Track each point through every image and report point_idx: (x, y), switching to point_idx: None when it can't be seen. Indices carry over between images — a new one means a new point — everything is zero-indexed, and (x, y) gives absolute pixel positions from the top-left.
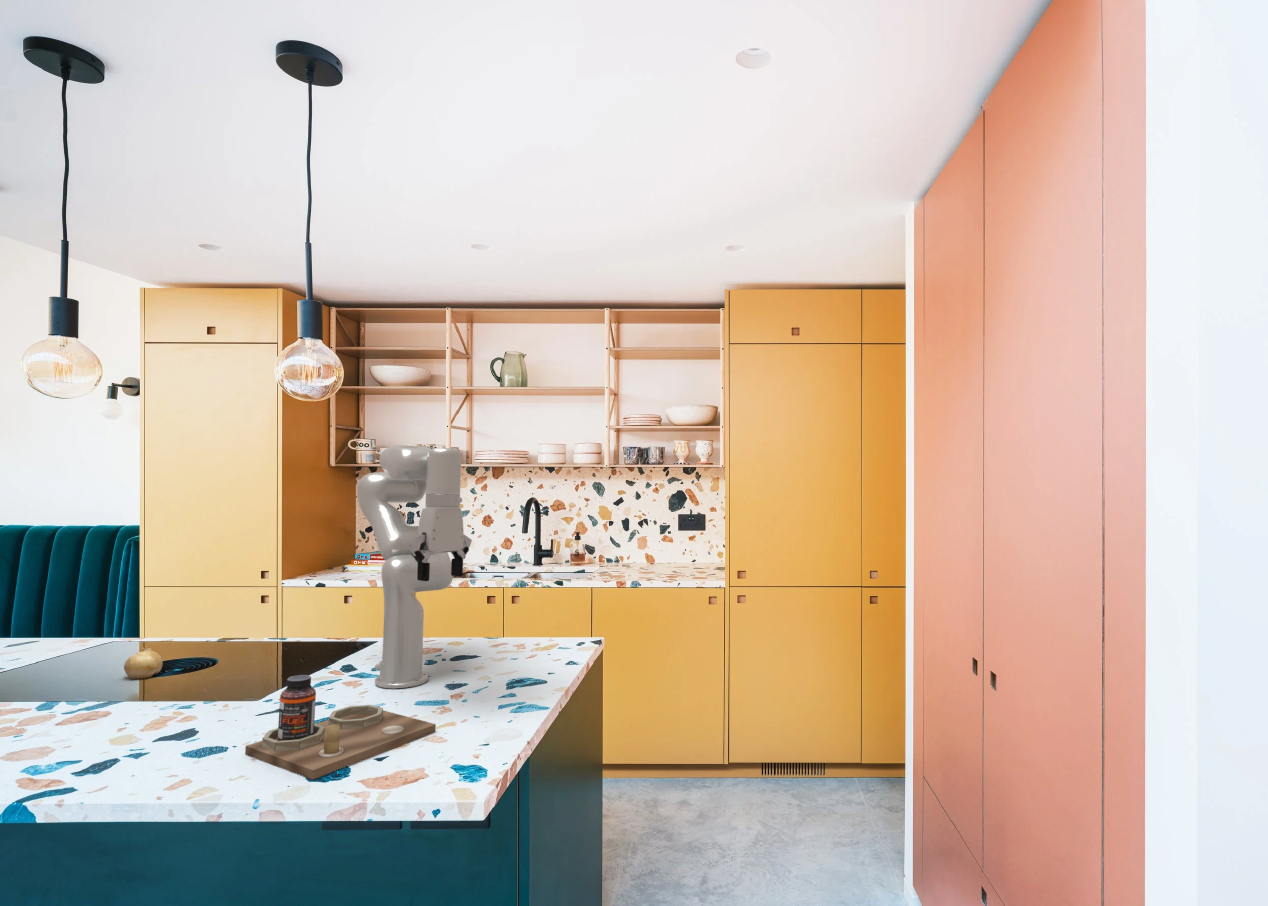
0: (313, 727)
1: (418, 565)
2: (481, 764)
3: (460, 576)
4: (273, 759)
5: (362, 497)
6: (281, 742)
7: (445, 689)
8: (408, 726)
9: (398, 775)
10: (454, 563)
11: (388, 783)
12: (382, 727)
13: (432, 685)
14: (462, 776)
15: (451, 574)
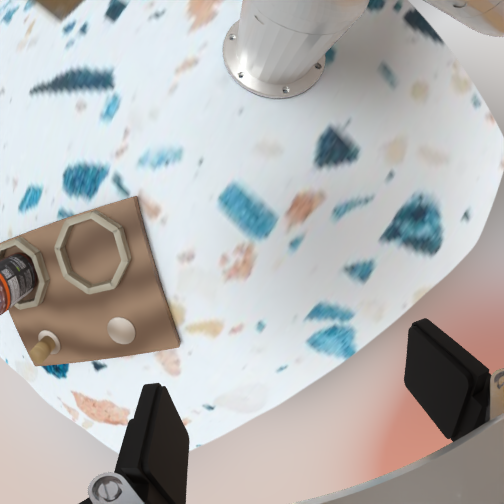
0: (30, 289)
1: (120, 471)
2: None
3: (406, 381)
4: None
5: None
6: None
7: (309, 155)
8: (144, 330)
9: (104, 407)
10: (446, 390)
11: (93, 412)
12: (114, 308)
13: (305, 114)
14: None
15: (411, 331)
